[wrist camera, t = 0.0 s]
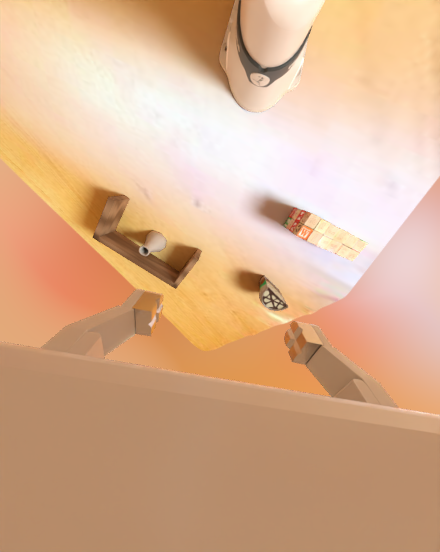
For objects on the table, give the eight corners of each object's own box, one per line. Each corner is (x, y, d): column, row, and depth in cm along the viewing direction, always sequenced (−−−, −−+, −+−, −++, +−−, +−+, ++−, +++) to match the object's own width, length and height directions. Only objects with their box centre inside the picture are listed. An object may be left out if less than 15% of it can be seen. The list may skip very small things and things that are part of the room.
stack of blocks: (347, 235, 55) (377, 247, 44) (334, 251, 58) (359, 266, 47) (293, 207, 51) (311, 212, 40) (282, 225, 54) (296, 235, 43)
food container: (249, 282, 65) (252, 297, 56) (261, 272, 62) (267, 287, 54) (268, 300, 69) (274, 317, 60) (280, 291, 66) (289, 308, 58)
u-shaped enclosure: (124, 195, 51) (108, 196, 44) (201, 251, 59) (198, 260, 52) (109, 231, 57) (92, 237, 50) (181, 277, 65) (175, 288, 58)
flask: (161, 254, 60) (149, 266, 52) (142, 242, 58) (128, 253, 50) (170, 239, 57) (160, 249, 49) (151, 226, 55) (137, 234, 47)
